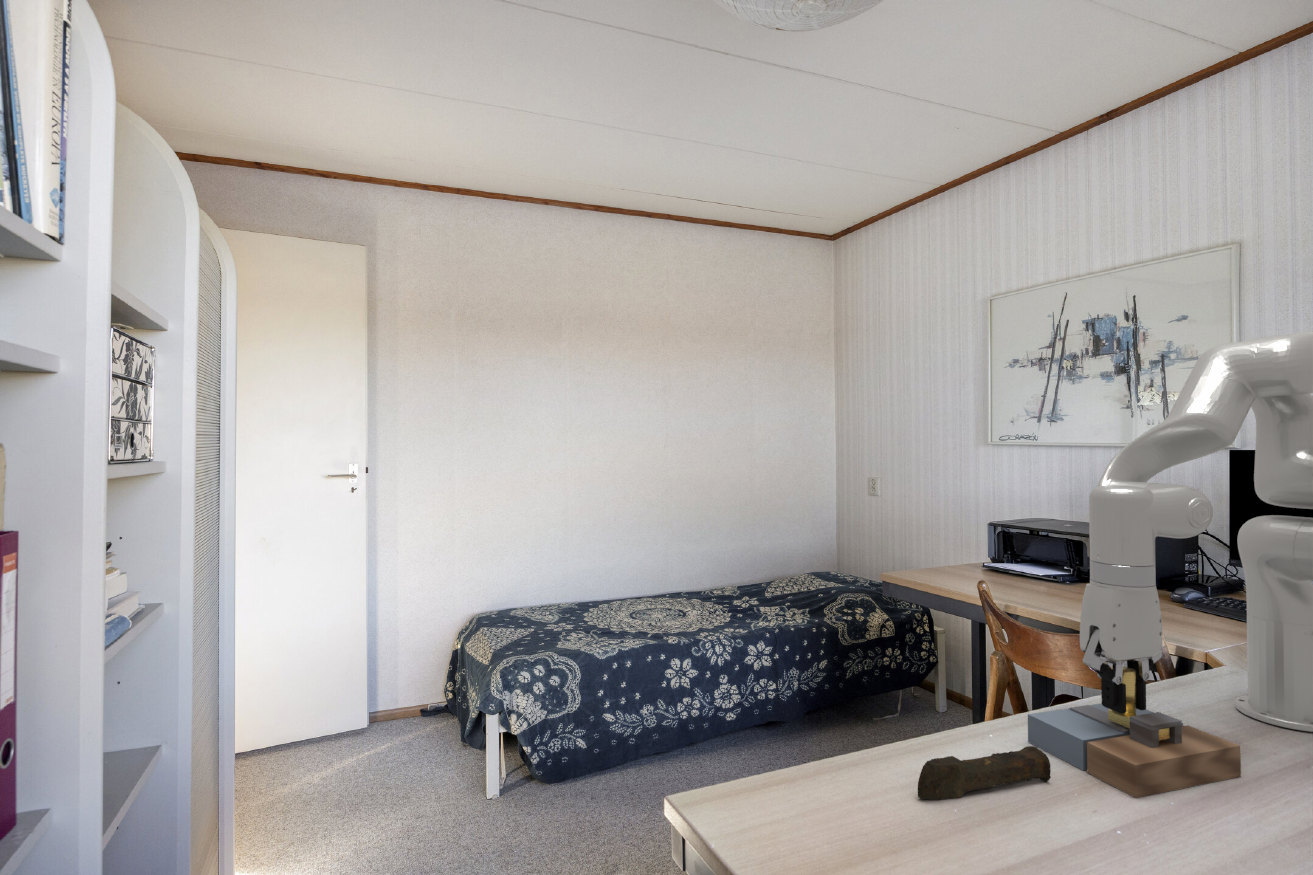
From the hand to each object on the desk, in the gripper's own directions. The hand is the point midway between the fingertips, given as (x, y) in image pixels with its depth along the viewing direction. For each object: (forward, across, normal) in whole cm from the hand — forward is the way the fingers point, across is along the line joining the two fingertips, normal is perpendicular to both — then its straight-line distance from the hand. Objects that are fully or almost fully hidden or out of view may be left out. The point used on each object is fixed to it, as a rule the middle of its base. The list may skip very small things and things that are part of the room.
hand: (1123, 706), depth 93 cm
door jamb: (+7, 0, +5) cm, 9 cm away
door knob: (+2, 0, +2) cm, 3 cm away
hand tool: (+7, +25, +2) cm, 26 cm away
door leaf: (+7, 0, -3) cm, 7 cm away
